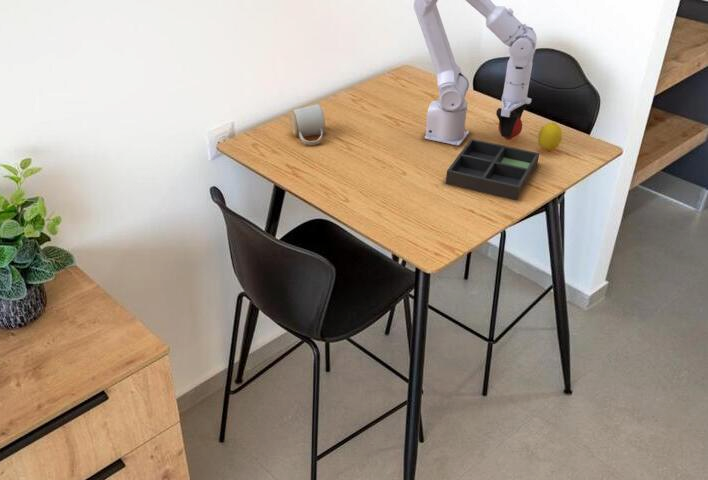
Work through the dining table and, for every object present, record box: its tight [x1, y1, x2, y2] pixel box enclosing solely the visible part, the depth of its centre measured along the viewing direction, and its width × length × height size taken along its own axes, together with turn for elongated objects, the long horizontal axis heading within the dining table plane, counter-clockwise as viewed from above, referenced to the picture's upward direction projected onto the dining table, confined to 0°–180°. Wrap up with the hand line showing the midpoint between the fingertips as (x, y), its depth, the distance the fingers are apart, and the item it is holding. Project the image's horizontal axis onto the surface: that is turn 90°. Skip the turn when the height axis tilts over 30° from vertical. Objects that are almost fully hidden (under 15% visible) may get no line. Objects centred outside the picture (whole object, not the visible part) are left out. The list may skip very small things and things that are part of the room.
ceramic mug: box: [289, 103, 326, 146], centre depth 199 cm, size 11×8×8 cm
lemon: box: [537, 121, 563, 153], centre depth 188 cm, size 6×6×8 cm
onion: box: [497, 112, 523, 141], centre depth 192 cm, size 6×6×8 cm
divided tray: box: [445, 138, 541, 201], centre depth 182 cm, size 17×17×4 cm
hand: (509, 131), depth 193 cm, fingers closed on onion, 6 cm apart
